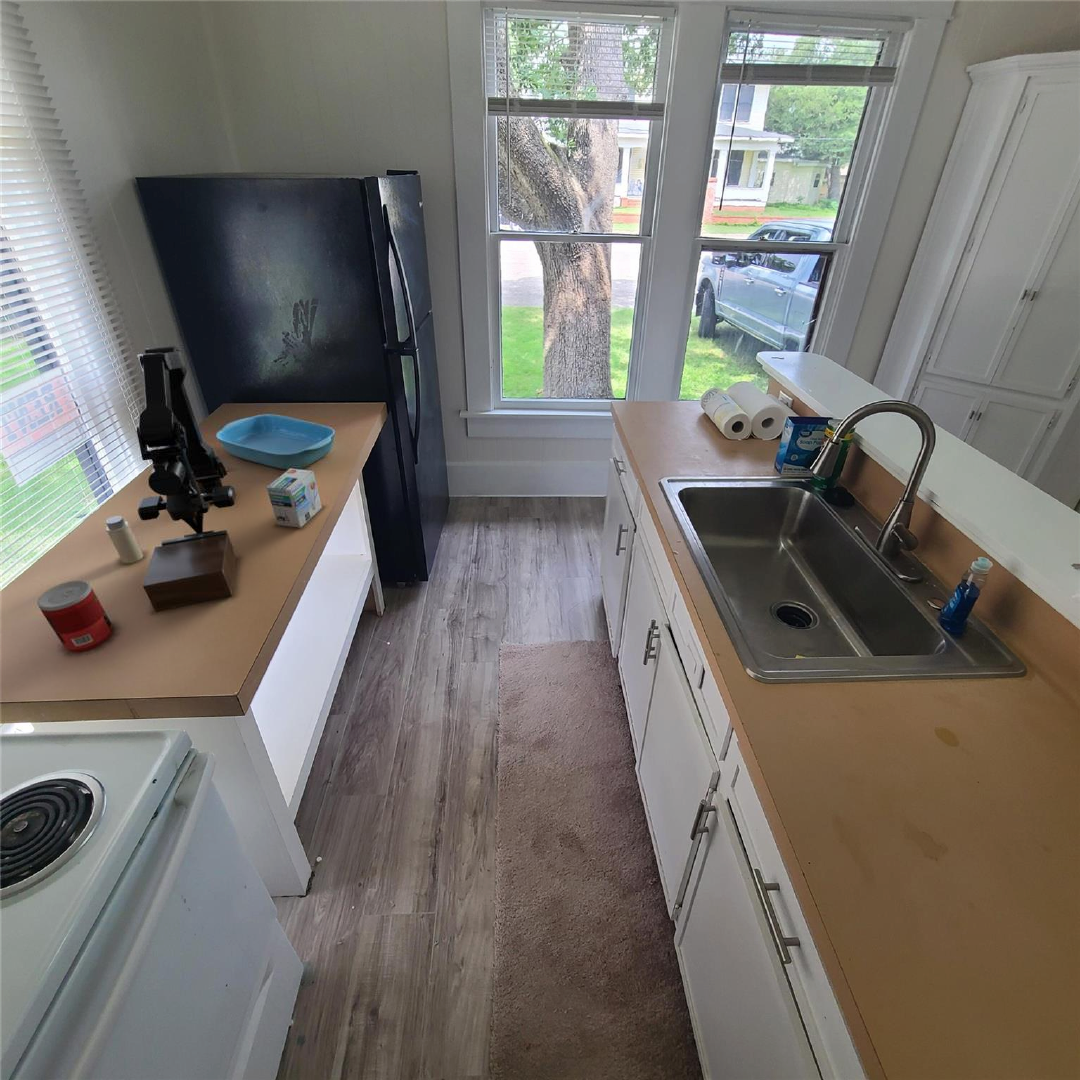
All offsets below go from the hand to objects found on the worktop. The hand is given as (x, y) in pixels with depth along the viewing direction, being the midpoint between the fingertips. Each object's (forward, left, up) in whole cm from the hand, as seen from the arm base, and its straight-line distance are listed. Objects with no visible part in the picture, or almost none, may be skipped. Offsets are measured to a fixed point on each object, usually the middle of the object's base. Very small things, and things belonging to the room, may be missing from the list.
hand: (200, 533), depth 134 cm
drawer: (+9, -2, -3) cm, 10 cm away
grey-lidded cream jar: (-3, -15, -3) cm, 15 cm away
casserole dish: (-43, +25, -4) cm, 50 cm away
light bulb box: (-2, +22, -4) cm, 22 cm away
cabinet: (+15, -3, -3) cm, 16 cm away
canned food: (+23, -22, -4) cm, 32 cm away
